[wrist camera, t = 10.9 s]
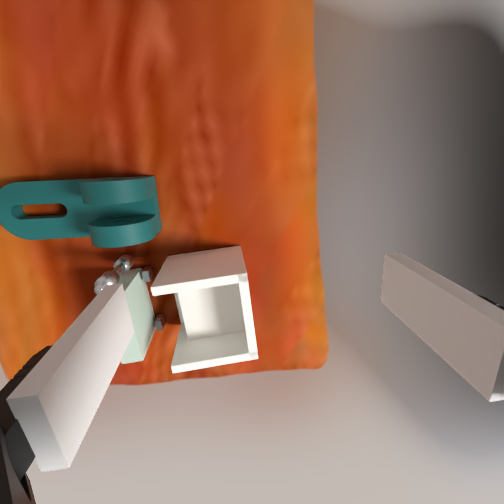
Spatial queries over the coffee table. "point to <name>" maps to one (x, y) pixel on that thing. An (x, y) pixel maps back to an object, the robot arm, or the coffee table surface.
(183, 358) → the cabinet
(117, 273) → the small parts
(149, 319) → the door
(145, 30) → the coffee table surface
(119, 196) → the bracket
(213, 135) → the coffee table surface
